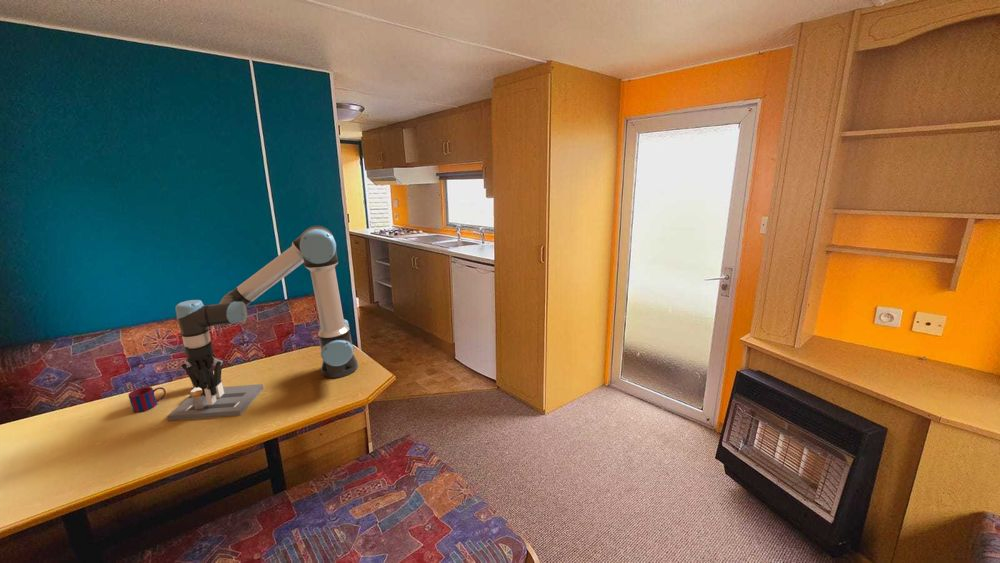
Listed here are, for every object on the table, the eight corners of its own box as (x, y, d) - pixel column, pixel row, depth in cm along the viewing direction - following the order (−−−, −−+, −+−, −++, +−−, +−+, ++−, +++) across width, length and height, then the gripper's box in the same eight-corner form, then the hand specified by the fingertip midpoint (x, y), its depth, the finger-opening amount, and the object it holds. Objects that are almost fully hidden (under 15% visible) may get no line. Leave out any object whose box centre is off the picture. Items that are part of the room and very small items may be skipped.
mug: (135, 406, 146) (130, 390, 144) (169, 397, 151) (164, 382, 149) (131, 415, 140) (126, 398, 138) (167, 405, 146) (162, 389, 144)
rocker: (209, 390, 153) (209, 386, 152) (201, 397, 148) (201, 393, 148) (198, 388, 152) (198, 384, 152) (190, 395, 147) (190, 391, 147)
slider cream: (224, 393, 149) (221, 379, 148) (220, 397, 146) (216, 384, 145) (215, 393, 149) (212, 380, 148) (210, 398, 146) (207, 384, 144)
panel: (263, 388, 157) (262, 384, 156) (240, 415, 139) (239, 410, 139) (199, 393, 154) (198, 388, 153) (167, 420, 137) (166, 415, 136)
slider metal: (209, 403, 143) (205, 389, 141) (204, 408, 140) (200, 394, 138) (200, 404, 142) (196, 390, 141) (194, 409, 139) (190, 395, 138)
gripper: (224, 338, 139) (236, 395, 145) (184, 340, 137) (199, 398, 144) (211, 347, 132) (225, 407, 138) (170, 349, 130) (186, 410, 137)
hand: (212, 402), depth 141 cm, fingers closed
